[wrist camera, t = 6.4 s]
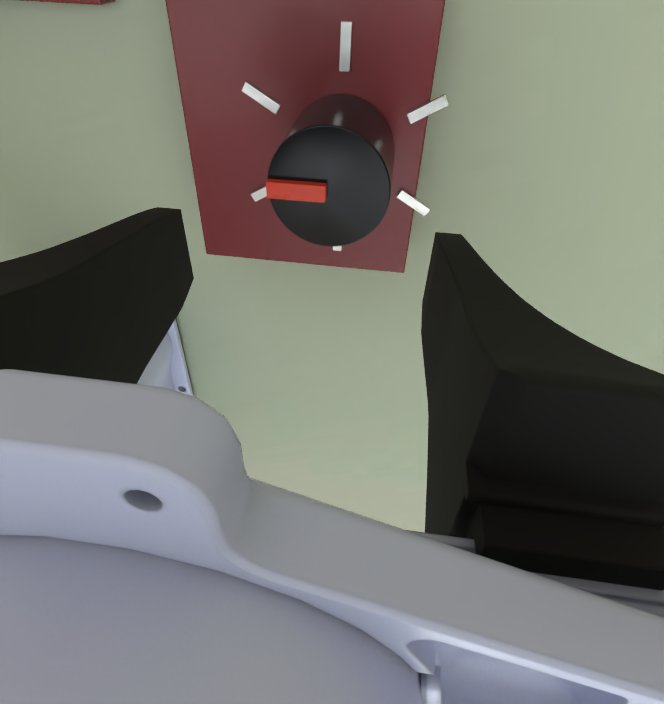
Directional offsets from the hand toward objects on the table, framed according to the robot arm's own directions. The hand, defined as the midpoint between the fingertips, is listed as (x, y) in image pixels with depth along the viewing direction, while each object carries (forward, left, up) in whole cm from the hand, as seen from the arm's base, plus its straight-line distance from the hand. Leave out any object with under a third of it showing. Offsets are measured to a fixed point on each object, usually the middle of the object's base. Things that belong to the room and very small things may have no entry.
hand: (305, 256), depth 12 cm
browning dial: (0, 0, -8) cm, 8 cm away
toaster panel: (0, +1, -10) cm, 11 cm away
